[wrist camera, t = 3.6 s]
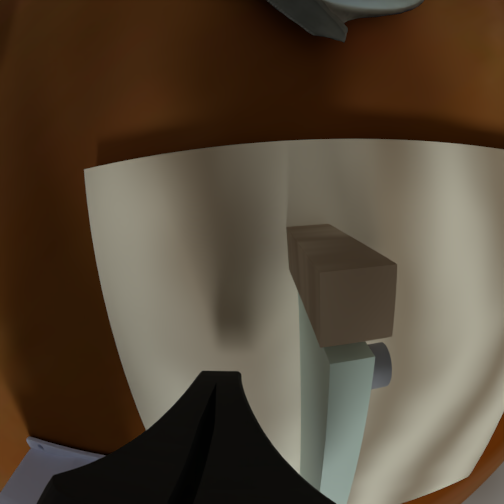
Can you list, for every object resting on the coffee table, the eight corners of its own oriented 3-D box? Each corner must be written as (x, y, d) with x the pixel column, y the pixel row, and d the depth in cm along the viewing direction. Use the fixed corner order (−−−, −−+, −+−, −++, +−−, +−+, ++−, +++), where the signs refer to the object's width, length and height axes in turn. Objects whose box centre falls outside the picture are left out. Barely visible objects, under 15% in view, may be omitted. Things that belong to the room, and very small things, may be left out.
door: (298, 508, 14) (305, 572, 9) (296, 285, 11) (328, 366, 6) (332, 503, 14) (345, 565, 9) (356, 278, 11) (425, 349, 6)
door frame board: (196, 517, 16) (186, 584, 10) (95, 169, 11) (-21, 169, 5) (464, 469, 16) (493, 518, 10) (535, 157, 11) (622, 162, 4)
